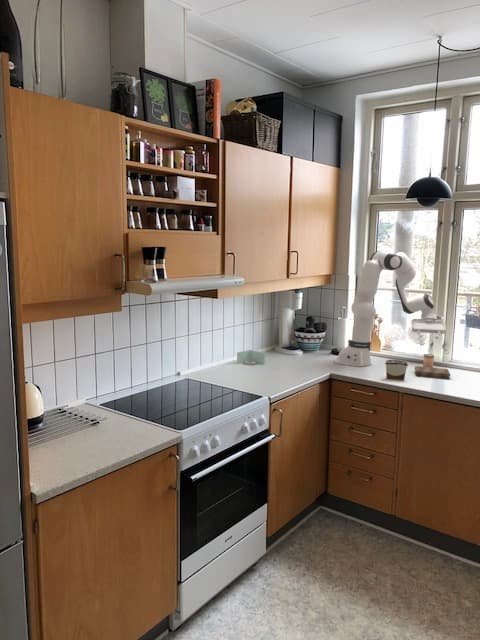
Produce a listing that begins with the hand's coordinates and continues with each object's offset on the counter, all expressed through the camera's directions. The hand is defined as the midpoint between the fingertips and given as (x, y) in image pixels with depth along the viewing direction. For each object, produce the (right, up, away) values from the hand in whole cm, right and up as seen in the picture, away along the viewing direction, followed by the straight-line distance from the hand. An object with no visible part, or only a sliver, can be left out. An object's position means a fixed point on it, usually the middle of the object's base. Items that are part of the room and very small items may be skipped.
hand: (428, 337), depth 316 cm
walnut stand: (-7, -21, -23) cm, 32 cm away
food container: (-31, -22, -33) cm, 50 cm away
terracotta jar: (-4, -19, -10) cm, 22 cm away
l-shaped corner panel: (-110, -16, -10) cm, 112 cm away
